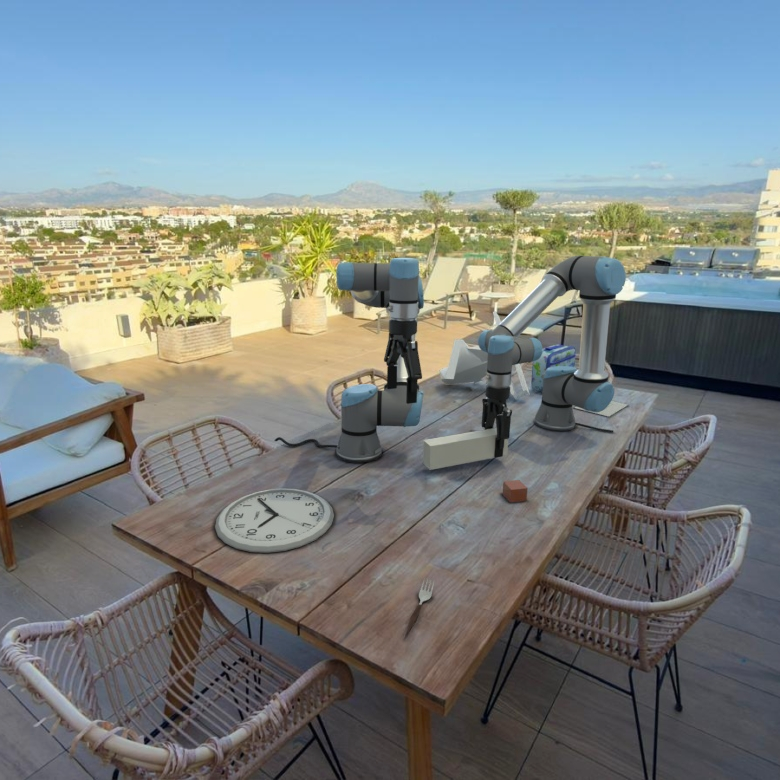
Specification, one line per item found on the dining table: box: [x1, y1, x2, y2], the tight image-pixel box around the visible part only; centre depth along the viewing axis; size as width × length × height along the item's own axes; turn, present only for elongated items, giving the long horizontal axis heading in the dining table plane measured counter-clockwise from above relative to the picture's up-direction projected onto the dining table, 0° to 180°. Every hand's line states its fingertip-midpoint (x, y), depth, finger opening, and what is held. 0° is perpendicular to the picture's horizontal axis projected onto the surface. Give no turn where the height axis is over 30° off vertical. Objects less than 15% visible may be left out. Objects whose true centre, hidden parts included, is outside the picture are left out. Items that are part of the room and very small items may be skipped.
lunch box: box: [530, 344, 577, 392], centre depth 247 cm, size 26×11×21 cm, turn 134°
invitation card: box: [573, 400, 629, 418], centre depth 226 cm, size 21×1×15 cm
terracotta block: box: [502, 479, 528, 503], centre depth 148 cm, size 5×5×4 cm
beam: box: [422, 427, 509, 471], centre depth 166 cm, size 28×5×8 cm, turn 112°
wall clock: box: [214, 488, 335, 554], centre depth 135 cm, size 30×2×30 cm
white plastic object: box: [438, 310, 531, 400], centre depth 245 cm, size 37×45×31 cm
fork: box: [405, 577, 435, 637], centre depth 104 cm, size 3×16×2 cm, turn 160°
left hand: (401, 395), depth 144 cm, fingers open, 13 cm apart
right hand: (493, 453), depth 171 cm, fingers closed on beam, 5 cm apart
